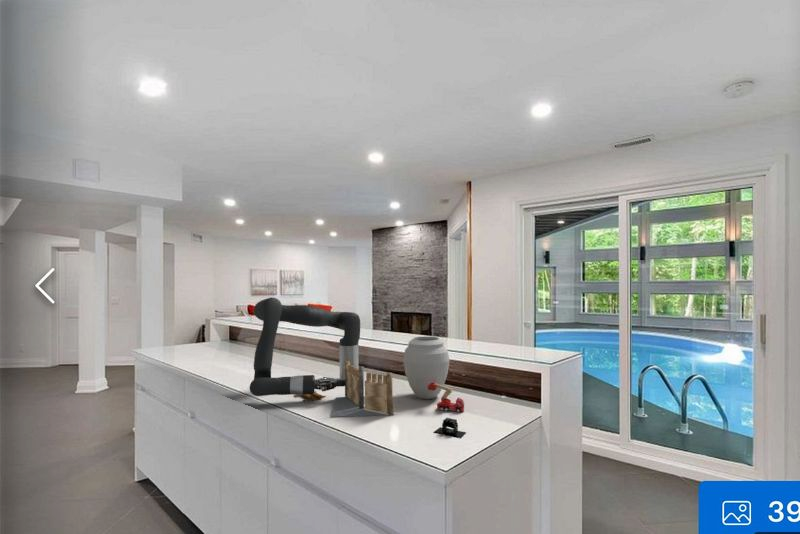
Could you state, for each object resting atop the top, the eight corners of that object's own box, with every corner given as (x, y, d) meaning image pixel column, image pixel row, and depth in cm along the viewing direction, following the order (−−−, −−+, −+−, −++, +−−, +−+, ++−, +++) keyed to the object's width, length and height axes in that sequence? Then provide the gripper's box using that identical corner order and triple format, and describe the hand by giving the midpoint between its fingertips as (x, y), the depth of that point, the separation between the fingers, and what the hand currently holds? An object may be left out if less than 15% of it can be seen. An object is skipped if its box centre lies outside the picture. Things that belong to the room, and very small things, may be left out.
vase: (459, 395, 166) (458, 337, 167) (430, 407, 152) (429, 343, 153) (423, 387, 179) (422, 333, 180) (393, 397, 165) (393, 338, 166)
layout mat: (335, 398, 165) (335, 396, 165) (390, 396, 166) (390, 395, 167) (330, 418, 141) (330, 416, 141) (394, 415, 143) (394, 414, 143)
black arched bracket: (427, 434, 127) (427, 420, 127) (437, 427, 133) (437, 413, 134) (464, 442, 121) (464, 426, 121) (472, 434, 127) (472, 419, 127)
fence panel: (362, 405, 153) (361, 368, 153) (357, 406, 152) (357, 368, 152) (348, 395, 167) (348, 360, 167) (344, 395, 166) (344, 361, 166)
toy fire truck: (463, 413, 145) (463, 386, 146) (427, 409, 150) (427, 383, 150) (465, 410, 148) (464, 384, 149) (429, 406, 153) (429, 381, 153)
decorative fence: (306, 404, 159) (328, 399, 165) (306, 399, 159) (328, 394, 165) (280, 391, 178) (301, 387, 185) (280, 386, 178) (301, 382, 185)
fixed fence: (358, 409, 150) (357, 367, 151) (361, 407, 152) (360, 366, 152) (390, 416, 143) (390, 371, 143) (393, 414, 144) (393, 370, 145)
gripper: (301, 380, 154) (346, 378, 156) (303, 371, 167) (345, 370, 170) (301, 399, 153) (346, 397, 156) (303, 389, 167) (345, 387, 169)
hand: (345, 382), depth 163 cm, fingers closed
